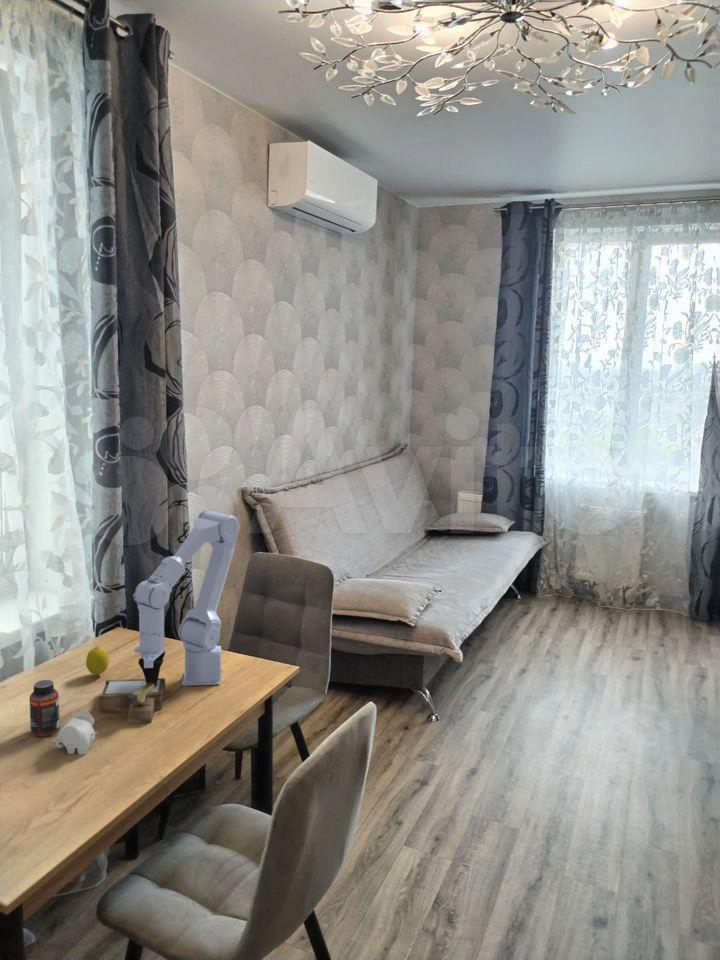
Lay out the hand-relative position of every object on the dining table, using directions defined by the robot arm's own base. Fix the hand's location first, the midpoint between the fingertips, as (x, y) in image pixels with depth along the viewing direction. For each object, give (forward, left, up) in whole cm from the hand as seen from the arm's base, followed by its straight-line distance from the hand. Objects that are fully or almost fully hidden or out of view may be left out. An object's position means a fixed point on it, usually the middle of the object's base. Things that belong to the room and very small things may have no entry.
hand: (152, 683), depth 178 cm
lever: (+2, +9, -1) cm, 9 cm away
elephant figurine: (+14, +21, -5) cm, 25 cm away
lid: (+4, 0, -1) cm, 5 cm away
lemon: (+16, -15, -4) cm, 22 cm away
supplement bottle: (+22, +13, -4) cm, 26 cm away
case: (+4, +3, -4) cm, 7 cm away
